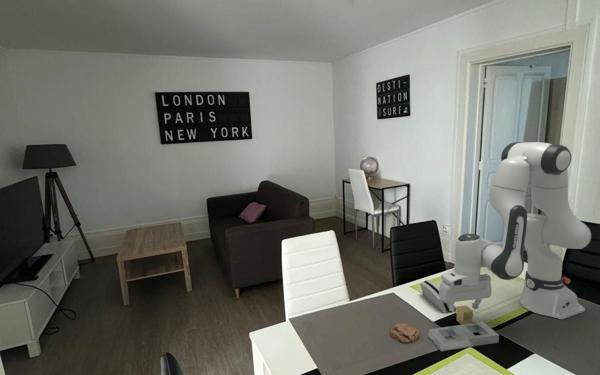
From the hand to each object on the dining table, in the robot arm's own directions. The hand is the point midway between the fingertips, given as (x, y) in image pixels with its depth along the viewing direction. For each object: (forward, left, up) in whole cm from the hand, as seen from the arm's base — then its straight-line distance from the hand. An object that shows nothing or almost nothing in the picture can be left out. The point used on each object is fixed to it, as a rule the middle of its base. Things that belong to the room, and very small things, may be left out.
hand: (464, 309), depth 122 cm
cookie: (+25, +1, -7) cm, 26 cm away
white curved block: (+2, -16, -6) cm, 17 cm away
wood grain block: (-1, -1, -6) cm, 6 cm away
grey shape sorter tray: (+6, +8, -6) cm, 12 cm away
